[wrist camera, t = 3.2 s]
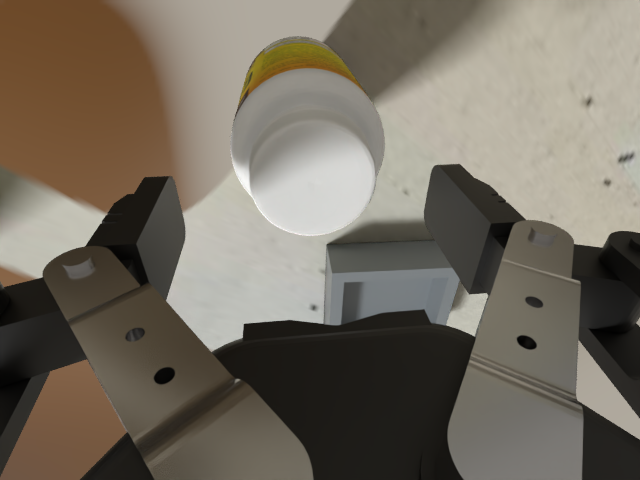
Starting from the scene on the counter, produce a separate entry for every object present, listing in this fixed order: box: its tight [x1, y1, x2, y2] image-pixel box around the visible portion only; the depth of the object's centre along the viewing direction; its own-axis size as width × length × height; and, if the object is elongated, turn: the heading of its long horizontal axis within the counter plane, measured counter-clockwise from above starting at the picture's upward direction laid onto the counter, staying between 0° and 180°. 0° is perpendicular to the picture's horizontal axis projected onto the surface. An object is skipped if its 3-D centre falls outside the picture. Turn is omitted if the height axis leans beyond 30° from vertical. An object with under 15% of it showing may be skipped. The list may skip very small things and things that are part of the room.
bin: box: [324, 240, 460, 325], centre depth 27 cm, size 8×8×3 cm
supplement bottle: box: [230, 36, 385, 236], centre depth 16 cm, size 6×6×10 cm
